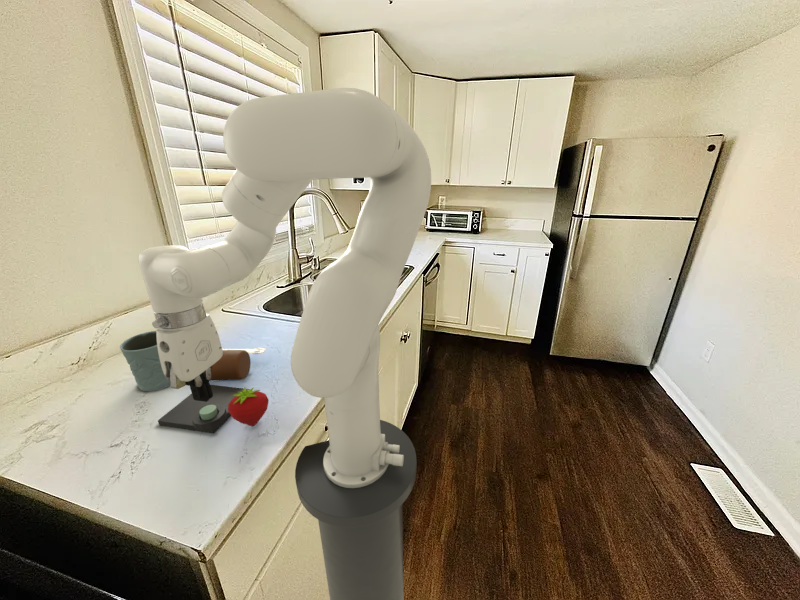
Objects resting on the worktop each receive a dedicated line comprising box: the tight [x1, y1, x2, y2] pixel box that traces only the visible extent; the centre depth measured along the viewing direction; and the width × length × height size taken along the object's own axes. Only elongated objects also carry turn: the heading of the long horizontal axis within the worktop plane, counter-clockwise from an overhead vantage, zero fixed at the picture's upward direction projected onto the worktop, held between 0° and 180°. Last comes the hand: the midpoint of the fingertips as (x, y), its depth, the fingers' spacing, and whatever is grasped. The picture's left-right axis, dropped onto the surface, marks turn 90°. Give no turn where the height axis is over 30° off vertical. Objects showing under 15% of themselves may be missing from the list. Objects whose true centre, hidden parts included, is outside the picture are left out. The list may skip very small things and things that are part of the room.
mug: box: [209, 350, 252, 382], centre depth 85 cm, size 12×8×9 cm
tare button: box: [199, 405, 218, 420], centre depth 66 cm, size 3×3×2 cm
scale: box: [157, 384, 251, 435], centre depth 72 cm, size 14×14×3 cm
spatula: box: [222, 347, 267, 355], centre depth 92 cm, size 28×6×3 cm, turn 90°
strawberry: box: [228, 387, 269, 427], centre depth 66 cm, size 6×8×10 cm
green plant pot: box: [119, 330, 171, 392], centre depth 80 cm, size 10×10×12 cm
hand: (203, 398), depth 65 cm, fingers closed
